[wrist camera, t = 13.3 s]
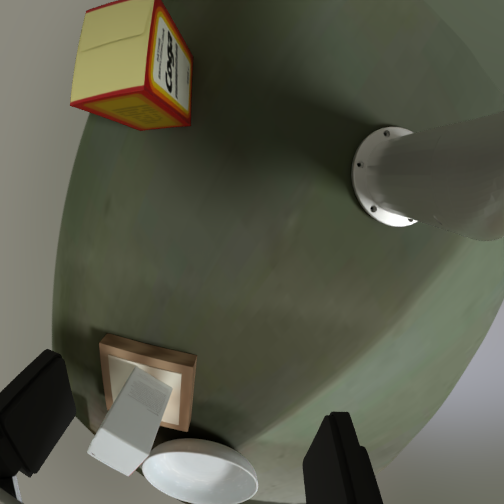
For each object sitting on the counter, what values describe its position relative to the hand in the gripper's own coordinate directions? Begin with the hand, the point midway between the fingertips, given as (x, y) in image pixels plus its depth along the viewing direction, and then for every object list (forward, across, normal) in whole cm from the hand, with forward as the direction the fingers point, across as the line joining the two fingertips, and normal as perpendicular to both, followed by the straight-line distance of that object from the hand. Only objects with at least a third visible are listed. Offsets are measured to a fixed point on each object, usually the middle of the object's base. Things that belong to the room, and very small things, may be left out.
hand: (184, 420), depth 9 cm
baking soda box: (+28, +12, -17) cm, 35 cm away
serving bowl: (+28, +1, +42) cm, 50 cm away
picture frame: (+28, +11, +24) cm, 38 cm away
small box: (+25, +10, +24) cm, 36 cm away
